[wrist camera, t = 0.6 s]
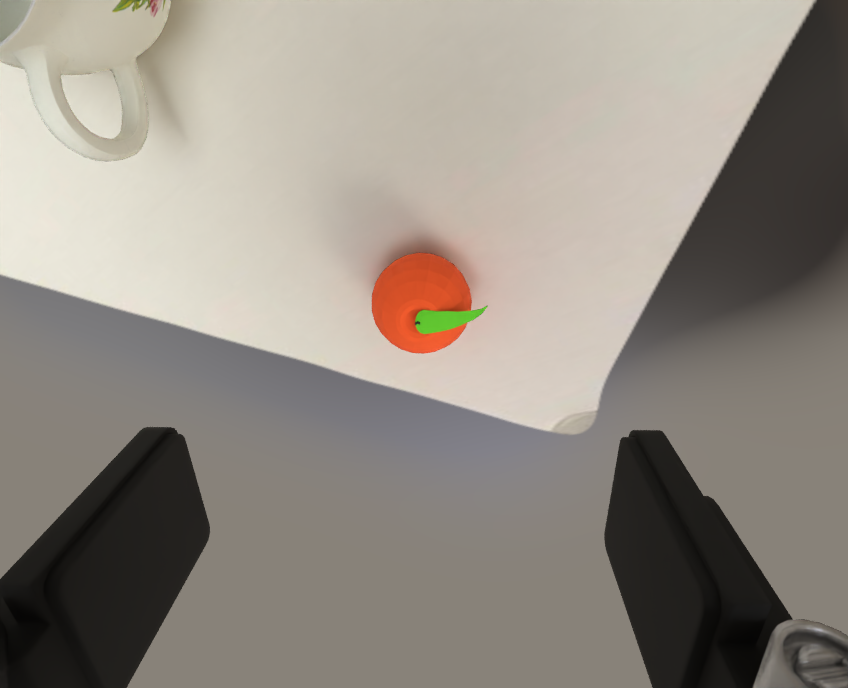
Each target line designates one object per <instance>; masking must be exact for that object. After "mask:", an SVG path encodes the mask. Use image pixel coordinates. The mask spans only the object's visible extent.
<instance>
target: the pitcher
mask: <svg viewBox="0 0 848 688" xmlns="http://www.w3.org/2000/svg"><path fill="white" fill-rule="evenodd" d="M170 5H171V0H0V62H2V63H5V64H8V65H11V66H14V67H18V68H21V69H25V72H26V74H27V79H28V85H29V89H30V93H31V96H32V99H33V102H34V104H35V107H36V109H37V111H38V113H39V115H40V117H41V119H42V120H43V122H44V123H45V125H46V126H47V128H48V129H49V130H50V132H51V133H52V134H53V135H54V136H55V137H56V138H57V139H58V140H59V141H60V142H61V143H63V144H64V145H65V146H66V147H68V148H69V149H71V150H72V151H74V152H76V153H78V154H80V155H82V156H84V157H86V158H89V159H92V160H95V161H104V162H109V161H117V160H123V159H126V158H128V157H131V156H133V155H135V154H137V153H138V152H139V151H140V150H141V149H142V147H143V144H144V142H145V140H146V138H147V133H148V123H149V117H148V106H147V100H146V95H145V91H144V88H143V84H142V80H141V77H140V73H139V70H138V67H137V62H136V58H137V56H139V55H141V54H142V53H143V52H144V51H146V50H147V49H148V48H149V47H150V46H151V45H152V44H153V43H154V42H155V40H156V39H157V38H158V37H159V35H160V33H161V32H162V30H163V28H164V26H165V23H166V21H167V18H168V14H169V10H170ZM106 70H110V71H111V72H112V73H113V75H114V77H115V80H116V83H117V86H118V90H119V93H120V98H121V104H122V125H121V131H120V134H119V135H118V136H117V137H116V138H114V139H107V138H102V137H99V136H97V135H95V134H94V133H92V132H90V131H89V130H88V129H87V128H86V127H84V126H83V125H82V123H81V122H80V121H79V120H78V119H77V118H76V116H75V115H74V113H73V112H72V110H71V108H70V106H69V104H68V102H67V99H66V97H65V94H64V91H63V87H62V82H61V75H81V74H91V73H97V72H102V71H106Z"/></svg>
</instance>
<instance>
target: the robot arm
mask: <svg viewBox="0 0 848 688" xmlns="http://www.w3.org/2000/svg"><path fill="white" fill-rule="evenodd" d="M209 534H210V526H209V522H208V518H207V515H206V511H205V508H204V504H203V501H202V498H201V493H200V490H199V487H198V483H197V480H196V476H195V472H194V469H193V465H192V462H191V458H190V455H189V451H188V448H187V444H186V441H185V438H184V437H183V435H181V434H178V433H177V431H176V430H175V429H174V428H171V427H146V428H143V429H142V430H141V431H140V432H139V433H138V434H137V435H136V436H135V437H134V438H133V439H132V440H131V441H130V442H129V443H128V444H127V445H126V447H125V448H124V449H123V450H122V451H121V452H120V453H119V454H118V455H117V456H116V457H115V458H114V459H113V460H112V461H111V462H110V463H109V464H108V466H107V467H106V468H105V469H104V470H103V471H102V472H101V473H100V474H99V475H98V476H97V477H96V478H95V479H94V480H93V481H92V483H91V484H90V485H89V486H88V487H87V488H86V489H85V490H84V491H83V492H82V493H81V495H79V496H78V498H76V500H75V501H74V502H73V503H72V504H71V505H70V506H69V507H68V508H67V509H66V510H65V511H64V512H63V513H62V514H61V515H60V517H58V519H57V520H56V521H55V522H54V523H53V524H52V525H51V526H50V527H49V528H48V529H47V530H46V531H45V532H44V533H43V534H42V536H41V537H40V538H39V539H38V540H37V541H36V542H35V543H34V544H33V545H32V546H31V547H30V548H29V549H28V550H27V551H26V553H24V555H23V556H22V557H21V558H20V559H19V560H18V561H17V562H16V563H15V564H14V565H13V566H12V567H11V568H10V570H8V572H7V573H6V574H5V575H4V576H3V577H2V578H1V579H0V688H127V686H128V684H129V682H130V680H131V679H132V677H133V675H134V673H135V671H136V669H137V668H138V666H139V664H140V662H141V661H142V659H143V657H144V655H145V653H146V652H147V650H148V648H149V646H150V644H151V643H152V641H153V639H154V637H155V635H156V634H157V632H158V630H159V628H160V626H161V625H162V623H163V621H164V619H165V617H166V616H167V614H168V612H169V610H170V608H171V607H172V605H173V603H174V601H175V599H176V598H177V596H178V594H179V592H180V590H181V589H182V587H183V585H184V583H185V581H186V580H187V578H188V576H189V574H190V572H191V571H192V569H193V567H194V565H195V563H196V562H197V560H198V558H199V556H200V554H201V553H202V551H203V549H204V547H205V545H206V543H207V541H208V538H209ZM605 547H606V551H607V554H608V557H609V560H610V563H611V566H612V569H613V572H614V575H615V578H616V581H617V584H618V586H619V590H620V592H621V596H622V598H623V601H624V604H625V607H626V610H627V613H628V616H629V619H630V622H631V625H632V628H633V631H634V634H635V637H636V640H637V643H638V646H639V649H640V652H641V655H642V657H643V660H644V664H645V667H646V669H647V672H648V675H649V678H650V681H651V684H652V687H653V688H848V636H847V635H846V634H844V633H842V632H841V631H839V630H837V629H834V628H832V627H830V626H826V625H825V624H822V623H819V622H814V621H810V620H805V619H796V620H793V619H792V618H791V616H790V614H788V611H787V610H786V608H785V607H784V605H783V604H782V602H781V601H780V599H779V598H778V596H777V595H776V593H775V591H774V590H773V588H772V587H771V585H770V584H769V582H768V581H767V579H766V578H765V576H764V575H763V573H762V571H761V570H760V569H759V567H758V565H757V564H756V562H755V561H754V559H753V558H752V556H751V555H750V553H749V552H748V550H747V548H746V547H745V545H744V544H743V543H742V541H741V539H740V538H739V536H738V535H737V533H736V532H735V530H734V529H733V527H732V525H731V524H730V522H729V521H728V519H727V518H726V516H725V515H724V513H723V512H722V510H721V509H720V507H719V505H718V504H717V503H716V502H715V501H714V499H712V498H710V497H709V496H703V494H702V493H701V491H700V490H699V488H698V486H697V485H696V483H695V482H694V480H693V479H692V477H691V475H690V474H689V472H688V471H687V469H686V467H685V466H684V464H683V463H682V461H681V460H680V458H679V456H678V455H677V453H676V452H675V450H674V448H673V447H672V445H671V444H670V442H669V440H668V439H667V437H666V436H665V434H664V433H663V432H662V431H660V430H659V431H658V430H656V431H655V430H654V431H653V430H652V431H651V430H633V431H631V432H630V434H629V437H623V438H621V440H620V445H619V451H618V457H617V462H616V468H615V475H614V481H613V487H612V493H611V498H610V504H609V510H608V516H607V522H606V528H605Z"/></svg>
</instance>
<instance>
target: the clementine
mask: <svg viewBox="0 0 848 688" xmlns="http://www.w3.org/2000/svg"><path fill="white" fill-rule="evenodd" d="M471 303H472V300H471V294H470V289H469V287H468V285H467V283H466V281H465V279H464V277H463V275H462V273H461V272H460V271H459V270H458V269H457V268H456V267H455V265H454V264H452V263H451V262H449V261H447V260H446V259H444V258H442V257H439V256H436V255H433V254H428V253H415V254H410V255H405V256H403V257H401V258H399V259H397V260H395V261H394V262H393V263H392V264H390V265H389V266H388V267H387V268H386V269H385V270H384V271H383V272H382V273H381V275H380V276H379V278H378V280H377V281H376V283H375V286H374V290H373V293H372V313H373V317H374V320H375V323H376V325H377V327H378V328H379V330H380V332H381V333H382V334H383V335H384V336H385V337H386V338H387V339H388V340H389V341H390V342H391V343H392V344H393V345H395V346H397V347H398V348H400V349H402V350H405V351H408V352H412V353H430V352H435V351H437V350H440V349H442V348H444V347H446V346H448V345H450V344H451V343H452V342H453V341H455V340H456V339H457V338H458V337H459V336H460V334H461V333H462V332H463V330H464V329H465V327H466V324H467V322H469V321H471V320H474V319H475V318H476V317H478V316H479V315H481V314H482V313H483V312H484V310H485V309H486V308H487V306H488V305H487V306H486V307H484V308H482V309H478V310H473V311H471Z"/></svg>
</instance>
